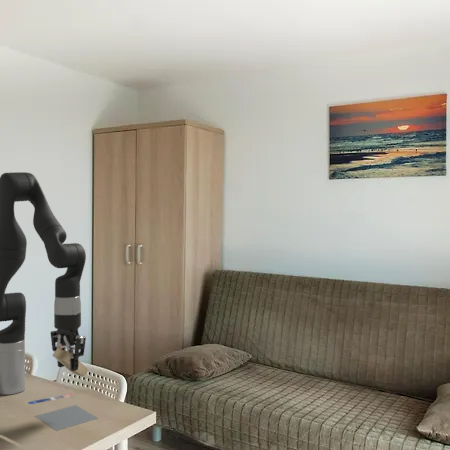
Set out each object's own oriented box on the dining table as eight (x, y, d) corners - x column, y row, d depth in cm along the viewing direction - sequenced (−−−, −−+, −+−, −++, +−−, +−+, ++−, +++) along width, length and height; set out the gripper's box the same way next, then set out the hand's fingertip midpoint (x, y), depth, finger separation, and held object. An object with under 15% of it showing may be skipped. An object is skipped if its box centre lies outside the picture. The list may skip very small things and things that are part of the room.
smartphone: (80, 398, 169) (33, 409, 160) (80, 401, 169) (33, 412, 160) (71, 392, 175) (25, 402, 166) (71, 395, 175) (25, 405, 166)
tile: (72, 373, 158) (52, 355, 153) (77, 366, 160) (57, 348, 154) (83, 376, 155) (63, 358, 149) (88, 369, 156) (68, 351, 151)
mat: (35, 417, 155) (35, 415, 155) (75, 406, 163) (75, 404, 163) (56, 432, 144) (56, 430, 144) (98, 420, 153) (98, 418, 153)
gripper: (42, 310, 155) (42, 367, 155) (72, 316, 146) (72, 376, 146) (63, 306, 161) (63, 361, 161) (93, 312, 152) (93, 369, 152)
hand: (67, 368), depth 154 cm, fingers closed on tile, 5 cm apart
